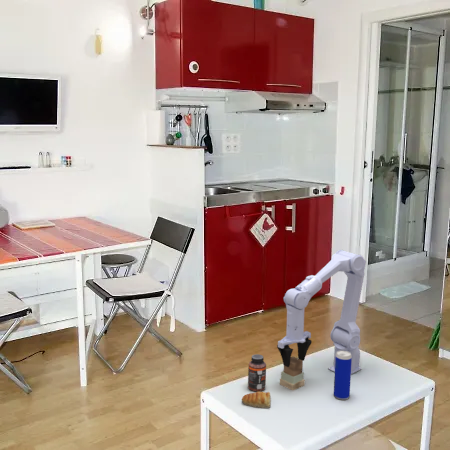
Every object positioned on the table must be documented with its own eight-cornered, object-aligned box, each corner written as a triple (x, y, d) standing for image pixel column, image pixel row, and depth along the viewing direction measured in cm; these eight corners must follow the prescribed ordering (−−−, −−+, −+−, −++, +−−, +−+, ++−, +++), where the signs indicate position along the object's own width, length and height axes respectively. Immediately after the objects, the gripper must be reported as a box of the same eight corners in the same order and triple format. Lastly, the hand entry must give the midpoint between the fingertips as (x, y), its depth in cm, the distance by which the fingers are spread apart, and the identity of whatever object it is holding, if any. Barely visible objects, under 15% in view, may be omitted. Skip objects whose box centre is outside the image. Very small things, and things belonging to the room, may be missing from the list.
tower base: (291, 380, 191) (291, 373, 190) (304, 386, 186) (304, 379, 186) (279, 385, 187) (279, 378, 187) (292, 392, 183) (293, 385, 182)
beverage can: (339, 391, 182) (341, 348, 180) (352, 396, 179) (355, 353, 176) (330, 396, 179) (332, 353, 176) (343, 402, 175) (346, 358, 173)
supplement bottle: (264, 393, 181) (265, 361, 179) (246, 391, 182) (247, 359, 180) (266, 385, 186) (267, 353, 184) (249, 383, 187) (250, 352, 185)
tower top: (291, 373, 190) (291, 367, 190) (303, 379, 186) (304, 372, 186) (280, 378, 186) (281, 372, 186) (293, 384, 183) (293, 377, 182)
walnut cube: (292, 368, 189) (292, 356, 188) (302, 373, 185) (302, 360, 185) (283, 372, 186) (283, 359, 185) (293, 376, 183) (293, 364, 182)
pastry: (241, 408, 171) (241, 396, 170) (242, 398, 178) (242, 387, 177) (271, 409, 170) (271, 398, 170) (271, 399, 177) (271, 388, 176)
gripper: (289, 333, 175) (288, 372, 177) (318, 322, 184) (316, 360, 187) (273, 327, 180) (272, 365, 182) (302, 317, 190) (301, 354, 192)
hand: (293, 362), depth 185 cm, fingers open, 7 cm apart
